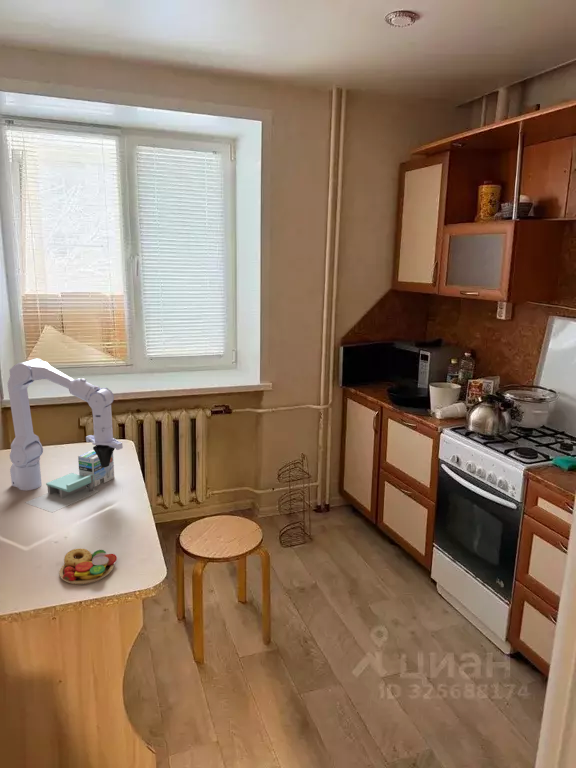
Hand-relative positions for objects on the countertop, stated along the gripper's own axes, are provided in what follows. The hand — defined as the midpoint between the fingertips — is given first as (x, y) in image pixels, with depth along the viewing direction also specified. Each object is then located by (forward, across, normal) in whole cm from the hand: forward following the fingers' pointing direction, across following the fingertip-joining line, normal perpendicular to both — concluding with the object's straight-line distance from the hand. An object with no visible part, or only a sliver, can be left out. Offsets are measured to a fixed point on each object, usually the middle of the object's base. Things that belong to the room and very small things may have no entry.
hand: (105, 466), depth 176 cm
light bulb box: (+10, -11, +6) cm, 16 cm away
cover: (+6, -10, -6) cm, 13 cm away
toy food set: (+10, +30, -34) cm, 47 cm away
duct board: (+10, -9, -10) cm, 17 cm away
